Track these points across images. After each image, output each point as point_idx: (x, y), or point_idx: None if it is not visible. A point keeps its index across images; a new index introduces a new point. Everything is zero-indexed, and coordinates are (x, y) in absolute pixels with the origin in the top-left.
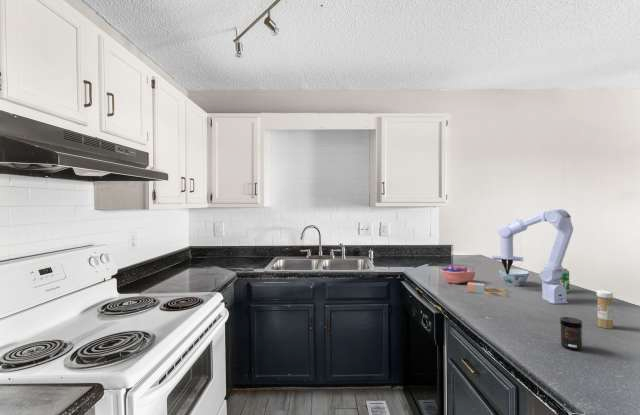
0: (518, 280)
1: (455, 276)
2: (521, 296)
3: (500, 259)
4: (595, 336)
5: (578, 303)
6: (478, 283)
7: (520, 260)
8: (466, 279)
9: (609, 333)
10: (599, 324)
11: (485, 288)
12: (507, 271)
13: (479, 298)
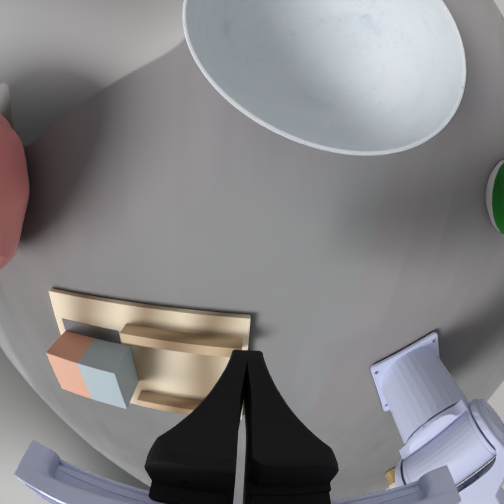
0: (356, 133)
1: None
2: (306, 362)
3: (143, 500)
4: (350, 495)
5: (465, 361)
6: (90, 374)
7: (407, 494)
8: (12, 258)
9: (379, 483)
10: (386, 477)
11: (126, 340)
12: (245, 390)
13: (139, 416)
